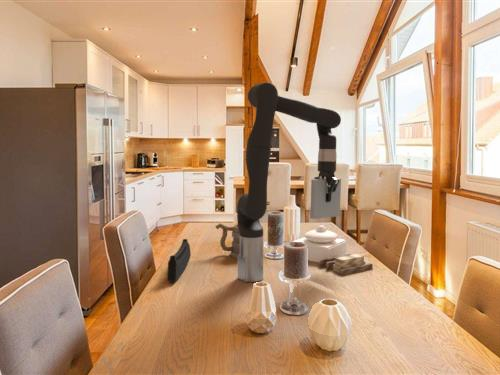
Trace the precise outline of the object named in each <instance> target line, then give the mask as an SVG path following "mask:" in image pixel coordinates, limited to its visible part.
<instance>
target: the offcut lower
mask: <svg viewBox="0 0 500 375" xmlns="http://www.w3.org/2000/svg"><path fill="white" fill-rule="evenodd" d="M365 264H366V261H365V260H364V262H361V263H357V264H352V265H347V266H339V265H336V264H333V271H336V272H338V273H340V270H341V269H346V268H351V267H355V266H360V265H365Z"/></svg>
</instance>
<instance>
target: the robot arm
mask: <svg viewBox="0 0 500 375" xmlns="http://www.w3.org/2000/svg"><path fill="white" fill-rule="evenodd" d="M247 99H248V102H249V105H251V106H252V107H254V108H255V119H254V123H253V126H252V129H251V131H250V132H249V134H248V138H247V141H246V150H245V165H246V169H247V174H248V181H249V182H248V183H249V184H248V191H247V193H244V194H242V195H240V197H239V199H238V201H237V204H236V205H237V206H236V216H237V218H236V219H237V224H238V228H239V232H240V254H238V258H237V278H238V279H239V280H240V281H242V282H244V283H255V282H260V281H262V280H264V228H263V226H262V225H261V223H260V220H261V219H262V218H263V217H264V216H265V214H266V212H267V208H268V207H267V206H268V177H269V165H270V158H271V151H272V140H273V139H272V138H273V129H274V128H273V126H274V120H275V116H276V112H278V113H281V114H285V115H286V116H287V115H288V116H291V117H293V118H295V119H298V120H301V121H304V122H307V123H311V124H316V131H317V134H318V139H319V140H318V154H317V172H319V173H318V176H315V177H313V178H314V179H325V187H326V202H330V201H331V193H332V192H335V191H336V188H337V186H338V183H339V179H340V178H339V179H336V174H335V172H337V155H338V154H337V136H336V135H334V134H333V132H332V129H336V128H338V127H339V125H340V124H341V121H342V118H341V115H340V114H339V113H338V111H336V110H332V109H329V108H326V107H320V106H316V105H314V104H313V103H309V102H308V101H307V102H306V101H302V100H299V99H294V98H289V97H285V96H281V95H279V91H278V88H277V87H276V85H275V84H274V83H273V82H270V81H269V82H268V81H267V82H261V83H258V84H255V85H252V87H250V89H249V90H248V93H247ZM328 185H329V186H328Z"/></svg>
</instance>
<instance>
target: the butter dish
mask: <svg viewBox="0 0 500 375" xmlns="http://www.w3.org/2000/svg"><path fill="white" fill-rule="evenodd" d="M338 237H339V236H338V234H337V233H336V232H333V231H331V230H327V228H326V226H324V225H321V224H320V225H318V226H317V227H315V229H312V230H309V231H307V232H305V233H304V236H303V237H301V238H299V239H295V240H293V241H292V243H293V242H303V243H305V244H306V245H307V248H308V260H307V261H311V262H316V263H319V264H320V260H321V259H326V258H332V257H337V256H342V255H347V241H346V239H343V238H338Z"/></svg>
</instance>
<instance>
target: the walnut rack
mask: <svg viewBox="0 0 500 375" xmlns="http://www.w3.org/2000/svg"><path fill="white" fill-rule="evenodd" d="M348 255H352V254H351V253H349V254H348V253H346V255H342V256H337V257H332V258H326V259H321V260H320V263H319V265H318V266H317V268H320V269H322V270H325V271H327V272H330V273H333V274H334V275H338V276H342V277H343V276H345V275H350V274H355V273H359V272H363V271H364V272H365V271H368V270H372V269H374V268H373V263H372V262H370V263H365V265H360V266H355V267H351V268H346V269H341V270H340V273H338V272H336V271H333V264H335V258H338V257H343V256H348Z"/></svg>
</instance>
